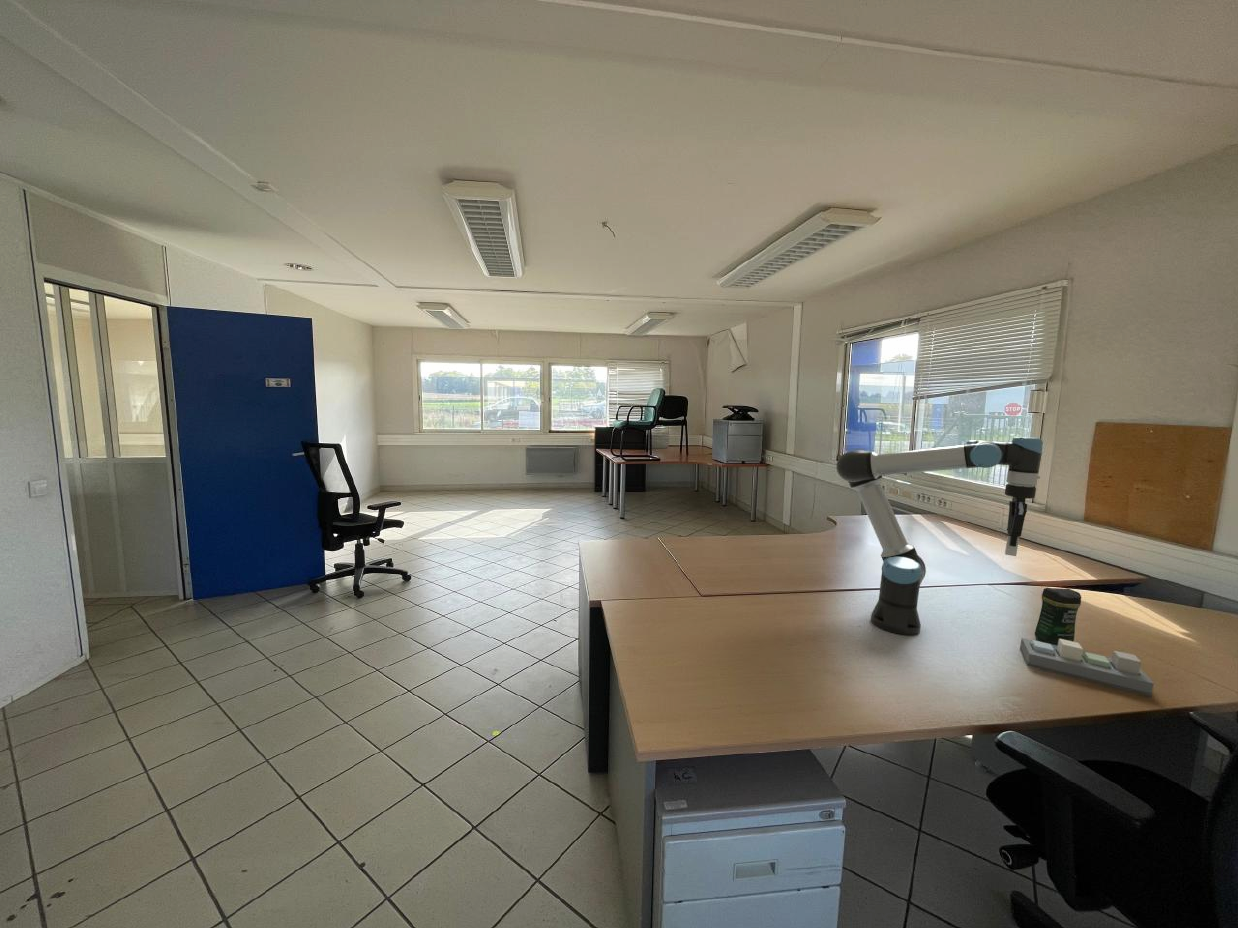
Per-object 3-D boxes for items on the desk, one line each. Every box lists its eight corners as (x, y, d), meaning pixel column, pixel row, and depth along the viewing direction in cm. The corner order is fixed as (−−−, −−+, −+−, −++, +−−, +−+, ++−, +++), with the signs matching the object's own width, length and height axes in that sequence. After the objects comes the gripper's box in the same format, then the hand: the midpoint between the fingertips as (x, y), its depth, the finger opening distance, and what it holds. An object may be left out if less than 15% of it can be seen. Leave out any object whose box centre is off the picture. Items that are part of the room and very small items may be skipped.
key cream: (1060, 656, 140) (1062, 644, 140) (1056, 650, 144) (1058, 638, 143) (1080, 661, 138) (1082, 648, 137) (1076, 655, 142) (1078, 642, 141)
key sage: (1086, 670, 137) (1089, 658, 137) (1082, 664, 141) (1084, 651, 141) (1107, 675, 135) (1109, 662, 135) (1102, 668, 139) (1104, 656, 138)
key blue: (1033, 658, 144) (1035, 645, 143) (1030, 651, 147) (1032, 639, 147) (1052, 662, 141) (1054, 650, 141) (1048, 656, 145) (1050, 644, 144)
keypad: (1027, 666, 142) (1029, 653, 141) (1019, 649, 152) (1021, 637, 151) (1151, 696, 128) (1153, 683, 127) (1133, 675, 138) (1135, 663, 138)
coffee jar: (1051, 647, 154) (1060, 593, 151) (1029, 635, 161) (1037, 584, 159) (1079, 647, 154) (1088, 593, 152) (1055, 635, 162) (1064, 584, 159)
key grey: (1116, 670, 134) (1119, 657, 133) (1111, 663, 138) (1113, 650, 137) (1138, 675, 132) (1141, 661, 131) (1132, 667, 135) (1134, 655, 135)
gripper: (1041, 489, 144) (1029, 562, 147) (1031, 483, 155) (1021, 552, 158) (1009, 485, 148) (999, 557, 151) (1002, 480, 159) (993, 547, 162)
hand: (1010, 554), depth 155 cm, fingers closed
